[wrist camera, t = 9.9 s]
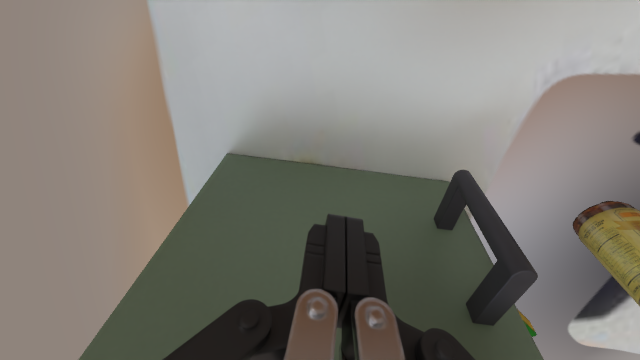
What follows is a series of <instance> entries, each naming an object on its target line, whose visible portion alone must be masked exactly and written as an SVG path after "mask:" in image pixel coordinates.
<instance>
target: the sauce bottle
mask: <svg viewBox="0 0 640 360" xmlns="http://www.w3.org/2000/svg"><path fill="white" fill-rule="evenodd" d="M573 228H574V230H575V232H576V234H577V235H578V236H579V239H580V240H581V241H582V243H583V244H584V245H585V246H586V247H587V248H588V249H589V250H590V251H591V252H592V254H593V255H594V256H595V257H596V258H597V259H598V260H599V261H600V263H601V264H602V265H603V266H604V267H605V268H606V269H607V270H608V271H609V273H610V274H611V275H612V276H613V277H614V278H615V279H616V280H617V281H618V283H619V284H620V285H621V286H622V287H623V288H624V289H625V290H626V291H627V293H628V294H629V295H630V296H631V297H632V298H633V299H634V300H635V301H636V303H637V304H638V305H639V306H640V211H639V210H637V209H635V208H634V207H632V206H631V205H629V204H626V203H622V202H613V201H606V202H602V203H600V204H598V205H595V206H592V207H589V208H588V209H586V210H584V211H583V212H582V213H580V214H579V215H578V217H577V218H576V219H575V221H574V222H573Z"/></svg>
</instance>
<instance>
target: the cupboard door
mask: <svg viewBox="0 0 640 360" xmlns="http://www.w3.org/2000/svg"><path fill="white" fill-rule="evenodd" d="M466 204H467V206H468V208H469V210H470V211H471V213H472V215H473V217H474V219H475V220H476V222H477V224H478V226H479V228H480V230H481V231H482V233H483V235H484V237H485V239H486V240H487V242H488V244H489V246H490V248H491V249H492V251H493V253H494V255H495V257H496V258H497V262H496V263H495V265H493V263H492V261H491V259H490V257H489V255H488V254H487V252H486V250H485V248H484V246H483V244H482V242H481V240H480V238H479V236H478V235H477V233H476V231H475V229H474V227H473V225H472V223H471V221H470V219H469V218H468V216H467V214H466V212H465V210H464V208H465V206H466ZM328 214H335V215H341V216H345V217H346V216H347V217H353V218H359V219H363V225H364V232H369V233H373V234H374V236H375V237H376V239H377V241H378V242H379V246H380V253H381V254H380V256H381V260H382V268H383V275H384V282H385V289H386V296H387V301H388V304H389V306H390V308H391V309H392V310H393V312H394V314H395V315H396V316H397V317H398V318H399V319H400V320H402V321H403V322H405V323H407V324H409V325H411V326H413V327H415V328H417V329H419V330H421V331H423V332H425V331H427V330H428V329H431V328H438V329H442V330H444V331H446V332H448V333H450V334H451V335H452V336H453V337H454V338H456V339H457V341H458V342H459V343H460V344H461V345H462V346H463V347H464V348H465V349H466V350H467V351H468V352H469V353H470V354H471V355H472V357H473V358H474V359H475V360H544V359H543V357H542V356H541V354H540V352H539V350H538V348H537V346H536V344H535V342H534V340H533V338H532V337H531V335H530V333H529V331H528V329H527V327H526V325H525V323H524V321H523V320H522V318H521V316H520V314H519V312H518V310H517V309H516V306H515V304H514V303H515V302H516V301H517V300H518V299H519V298H520V297H521V296H522V295H523V294H524V293H525V291H526V290H527V289H528V288H529V287H530V286H531V285H532V284H533V283H534V282H535V281H536V280H537V277H538V275H537V273H536V271H535V270H534V268H533V267H532V265H531V264H530V262H529V261H528V259H527V258H526V256H525V255H524V253H523V252H522V250H521V249H520V247H519V246H518V244H517V243H516V241H515V240H514V238H513V237H512V235H511V234H510V232H509V231H508V229H507V228H506V226H505V225H504V223H503V222H502V220H501V219H500V217H499V216H498V214H497V213H496V211H495V210H494V208H493V207H492V205H491V204H490V202H489V201H488V199H487V198H486V196H485V195H484V193H483V192H482V190H481V189H480V187H479V186H478V184H477V183H476V181H475V180H474V178H473V177H472V175H471V174H470V172H469V171H467V170H460V171H457V172H456V173H455V174H454V175H453V177H452V180H451V182H447V181H439V180H432V179H424V178H416V177H408V176H400V175H392V174H384V173H377V172H369V171H361V170H353V169H345V168H337V167H330V166H322V165H314V164H306V163H298V162H290V161H282V160H275V159H267V158H259V157H251V156H243V155H235V154H226V156H225V157H224V158H223V160H222V161H221V163H220V164H219V165H218V167H217V168H216V170H215V171H214V172H213V174H212V175H211V177H210V178H209V179H208V181H207V182H206V183H205V185H204V186H203V188H202V189H201V190H200V192H199V193H198V195H197V196H196V197H195V199H194V200H193V202H192V203H191V204H190V206H189V207H188V208H187V210H186V211H185V213H184V214H183V215H182V217H181V218H180V220H179V221H178V222H177V224H176V225H175V227H174V228H173V229H172V231H171V232H170V233H169V235H168V236H167V238H166V239H165V241H164V242H163V243H162V245H161V246H160V247H159V249H158V250H157V251H156V253H155V254H154V256H153V257H152V259H151V260H150V261H149V263H148V264H147V265H146V267H145V269H144V270H143V271H142V272H141V274H140V275H139V277H138V278H137V279H136V281H135V282H134V284H133V285H132V286H131V288H130V289H129V290H128V292H127V293H126V295H125V296H124V297H123V299H122V300H121V301H120V303H119V304H118V306H117V307H116V308H115V310H114V311H113V313H112V314H111V315H110V317H109V318H108V320H107V321H106V322H105V324H104V325H103V326H102V328H101V329H100V331H99V332H98V333H97V335H96V336H95V338H94V339H93V341H92V342H91V343H90V345H89V346H88V347H87V349H86V350H85V351H84V353H83V354H82V356H81V357H80V359H79V360H163V359H164V358H165V357H167V356H168V355H169V354H170V353H172V352H173V351H174V350H176V349H177V348H178V347H180V346H181V345H182V344H184V343H185V342H186V341H188V340H189V339H190V338H192V337H193V336H194V335H196V334H197V333H198V332H200V331H201V330H202V329H204V328H205V327H206V326H208V325H209V324H210V323H212V322H213V321H214V320H216V319H217V318H218V317H220V316H221V315H222V314H224V313H225V312H226V311H228V310H229V309H230V308H232V307H233V306H234V305H236V304H237V303H239V302H241V301H243V300H248V299H255V300H259V301H261V302H263V303H264V304H265V305H266V306H267V307H269V306H274V305H280V304H284V303H286V302H288V301H290V300H292V299H293V298H294V297H295V296H296V295H297V293H298V292H299V285H300V278H301V272H302V265H303V258H304V252H305V247H306V241H307V236H308V232H309V230H310V229H311V228H312V226H313V225H314V224H320V225H325V223H326V219H327V215H328ZM341 340H342V328H337V331H336V342H335V352H334V360H339V345H340V343H341Z"/></svg>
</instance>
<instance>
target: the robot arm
mask: <svg viewBox="0 0 640 360" xmlns="http://www.w3.org/2000/svg"><path fill="white" fill-rule="evenodd" d="M380 254H381V253H380V246H379V242H378V241H377V239H376V237H375V236H374V234H373V233H369V232H364V225H363V219H359V218H353V217H347V216H346V217H345V216H341V215H335V214H328V215H327V219H326V223H325V225H320V224H314V225H313V226H312V228H311V229H310V230H309V232H308V236H307V241H306V247H305V252H304V258H303V265H302V272H301V278H300V285H299V292H298V293H297V295H296V296H295V297H294V298H293V299H292V300H290V301H288V302H286V303H284V304H280V305H274V306H269V307H267V306H266V305H265V304H264V303H263V302H261V301H259V300H255V299H248V300H243V301H241V302H239V303H237V304H236V305H234V306H233V307H232V308H230V309H229V310H228V311H226V312H225V313H224V314H222V315H221V316H220V317H218V318H217V319H216V320H214V321H213V322H212V323H210V324H209V325H208V326H206V327H205V328H204V329H202V330H201V331H200V332H198V333H197V334H196V335H194V336H193V337H192V338H190V339H189V340H188V341H186V342H185V343H184V344H182V345H181V346H180V347H178V348H177V349H176V350H174V351H173V352H172V353H170V354H169V355H168V356H167V357H165V358H164V359H163V360H334V352H335V342H336V331H337V328H342V340H341V343H340V345H339V360H475V359H474V358H473V357H472V355H471V354H470V353H469V352H468V351H467V350H466V349H465V348H464V347H463V346H462V345H461V344H460V343H459V342H458V341H457V339H456V338H454V337H453V336H452V335H451V334H450V333H448V332H446V331H444V330H442V329H438V328H431V329H428V330H427V331H425V332H423V331H421V330H419V329H417V328H415V327H413V326H411V325H409V324H407V323H405V322H403V321H402V320H400V319H399V318H398V317H397V316H396V315H395V314H394V312H393V310H392V309H391V308H390V306H389V304H388V301H387V296H386V289H385V282H384V275H383V268H382V260H381V256H380Z"/></svg>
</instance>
